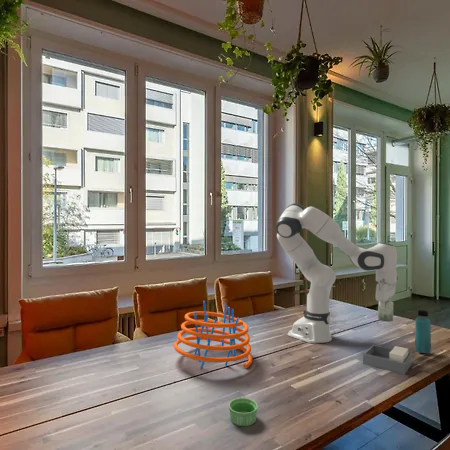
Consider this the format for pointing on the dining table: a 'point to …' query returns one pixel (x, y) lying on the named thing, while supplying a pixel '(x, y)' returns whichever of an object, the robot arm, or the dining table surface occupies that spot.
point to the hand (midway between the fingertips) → (385, 307)
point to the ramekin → (243, 411)
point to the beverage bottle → (422, 333)
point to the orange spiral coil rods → (215, 337)
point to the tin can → (386, 311)
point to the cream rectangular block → (398, 354)
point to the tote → (385, 360)
